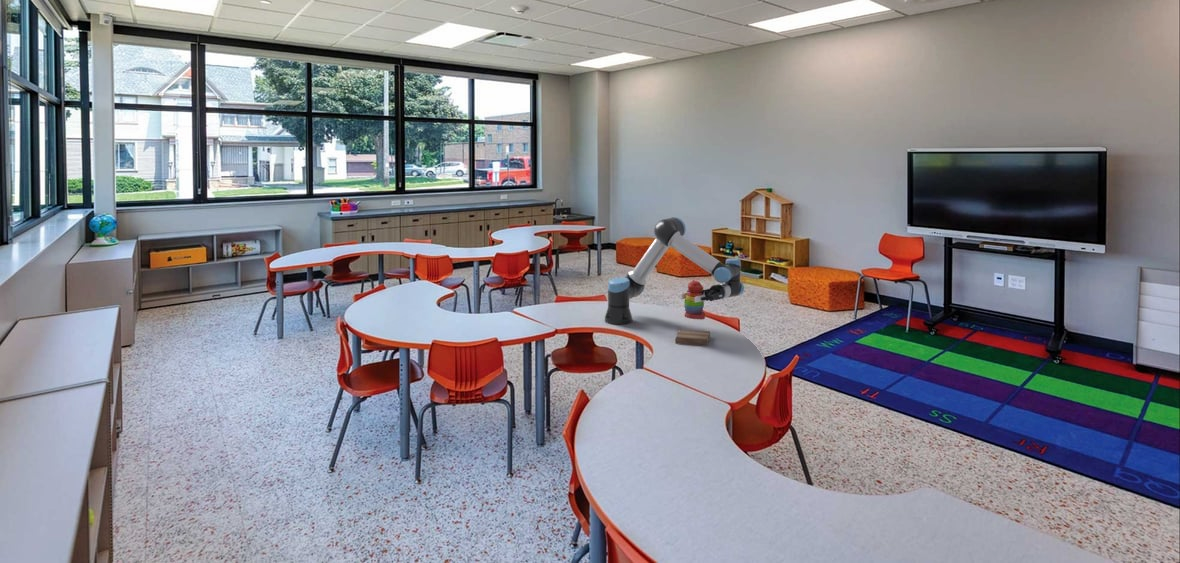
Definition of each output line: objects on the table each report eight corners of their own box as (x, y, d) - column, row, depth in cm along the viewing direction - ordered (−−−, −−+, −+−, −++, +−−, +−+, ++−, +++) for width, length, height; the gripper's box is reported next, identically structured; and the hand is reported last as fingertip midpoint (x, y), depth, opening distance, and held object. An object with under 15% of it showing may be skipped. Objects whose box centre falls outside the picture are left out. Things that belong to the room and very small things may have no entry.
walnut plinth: (680, 334, 310) (680, 329, 309) (710, 337, 305) (710, 331, 305) (675, 343, 296) (675, 337, 295) (706, 345, 291) (707, 339, 291)
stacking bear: (704, 319, 292) (706, 283, 288) (683, 319, 294) (684, 282, 290) (705, 314, 302) (706, 279, 299) (684, 313, 304) (685, 278, 300)
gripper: (736, 302, 299) (704, 309, 286) (703, 295, 316) (672, 301, 302) (736, 287, 298) (705, 294, 284) (703, 281, 314) (672, 286, 301)
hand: (688, 297), depth 293 cm, fingers closed on stacking bear, 9 cm apart
